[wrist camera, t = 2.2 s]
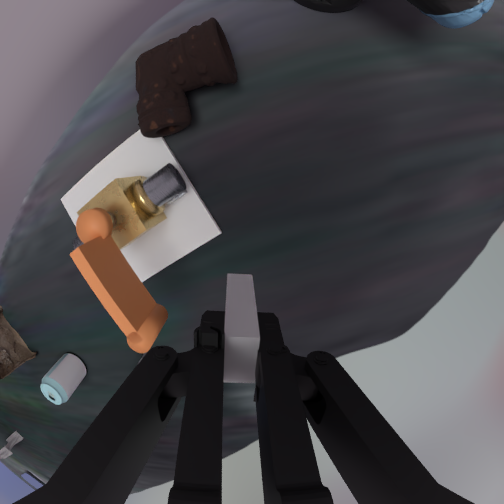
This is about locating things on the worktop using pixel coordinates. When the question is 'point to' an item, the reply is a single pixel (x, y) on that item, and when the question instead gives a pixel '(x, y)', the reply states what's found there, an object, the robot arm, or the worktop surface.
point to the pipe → (180, 77)
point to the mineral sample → (11, 348)
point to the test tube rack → (10, 445)
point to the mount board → (178, 213)
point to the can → (63, 378)
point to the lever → (116, 281)
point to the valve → (137, 203)
